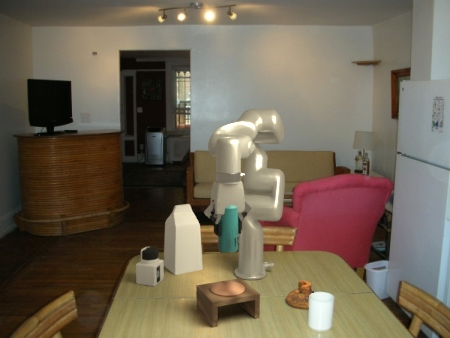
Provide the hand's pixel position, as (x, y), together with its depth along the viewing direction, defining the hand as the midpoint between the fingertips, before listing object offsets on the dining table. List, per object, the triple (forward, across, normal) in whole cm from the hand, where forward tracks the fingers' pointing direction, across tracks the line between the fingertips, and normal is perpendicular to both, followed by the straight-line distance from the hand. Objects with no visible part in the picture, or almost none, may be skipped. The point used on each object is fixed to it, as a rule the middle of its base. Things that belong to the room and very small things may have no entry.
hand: (227, 233), depth 150 cm
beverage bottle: (+7, 0, 0) cm, 7 cm away
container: (+27, +16, -35) cm, 47 cm away
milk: (+27, 0, -44) cm, 52 cm away
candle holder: (+27, -27, +3) cm, 39 cm away
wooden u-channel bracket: (+27, 0, 0) cm, 27 cm away
